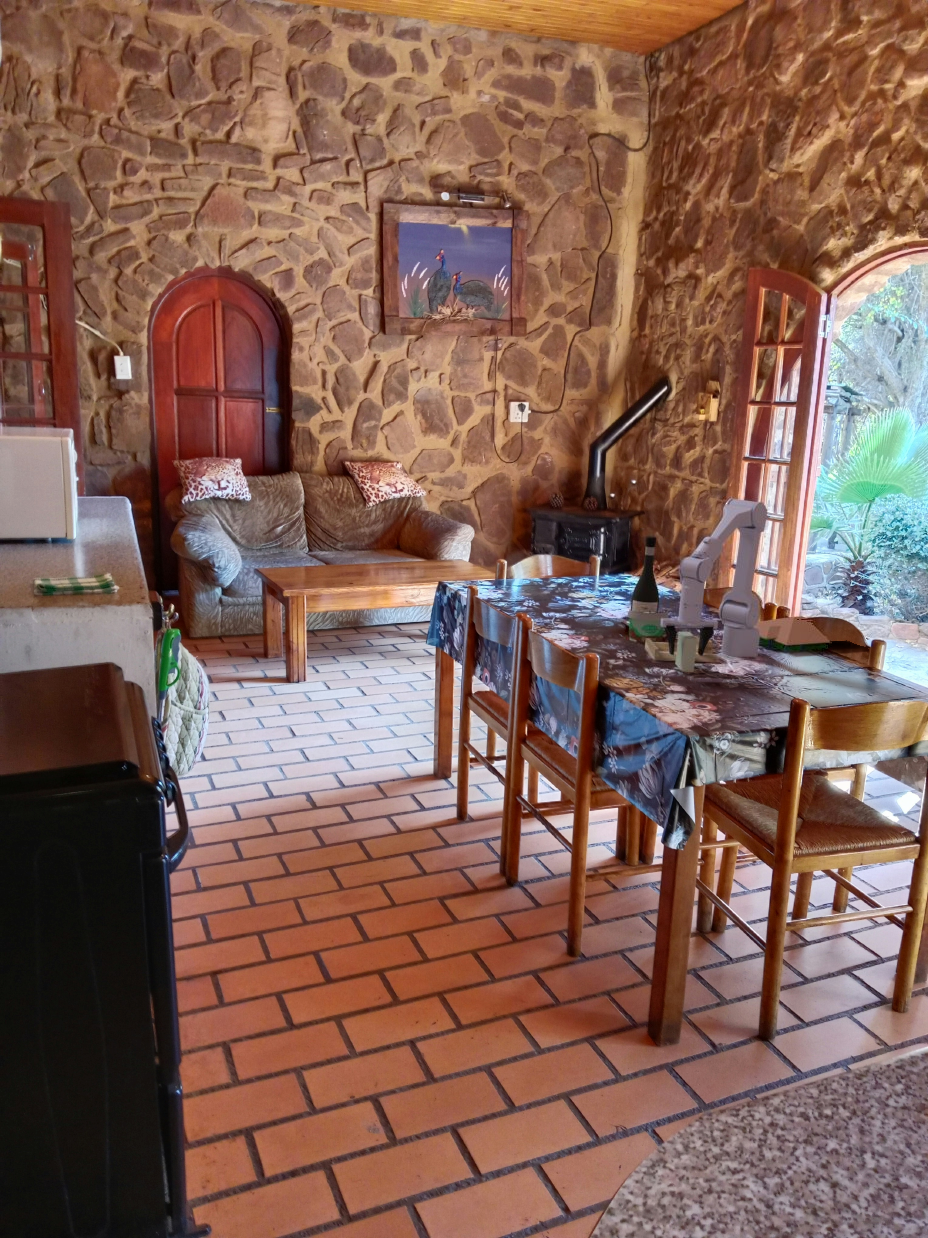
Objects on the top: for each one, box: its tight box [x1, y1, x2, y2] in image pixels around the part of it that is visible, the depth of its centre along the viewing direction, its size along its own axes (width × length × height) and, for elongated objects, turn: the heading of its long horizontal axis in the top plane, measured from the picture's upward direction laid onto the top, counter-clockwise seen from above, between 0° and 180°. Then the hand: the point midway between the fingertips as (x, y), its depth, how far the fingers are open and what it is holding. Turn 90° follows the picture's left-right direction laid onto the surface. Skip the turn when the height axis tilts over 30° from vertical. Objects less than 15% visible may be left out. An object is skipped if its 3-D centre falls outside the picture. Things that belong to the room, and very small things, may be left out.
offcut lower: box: [696, 647, 714, 654], centre depth 274 cm, size 4×6×2 cm, turn 3°
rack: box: [644, 638, 720, 663], centre depth 274 cm, size 18×11×4 cm, turn 93°
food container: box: [626, 608, 669, 645], centre depth 285 cm, size 12×6×10 cm, turn 105°
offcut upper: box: [695, 636, 713, 650], centre depth 273 cm, size 4×5×2 cm
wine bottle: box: [630, 535, 660, 612], centre depth 291 cm, size 8×8×30 cm
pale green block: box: [674, 631, 697, 673], centre depth 261 cm, size 3×7×9 cm, turn 3°
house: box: [755, 615, 870, 653], centre depth 298 cm, size 23×33×8 cm
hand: (685, 654), depth 261 cm, fingers open, 7 cm apart
